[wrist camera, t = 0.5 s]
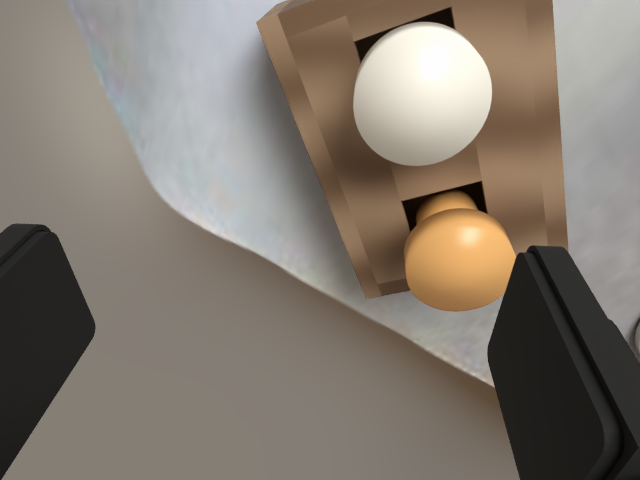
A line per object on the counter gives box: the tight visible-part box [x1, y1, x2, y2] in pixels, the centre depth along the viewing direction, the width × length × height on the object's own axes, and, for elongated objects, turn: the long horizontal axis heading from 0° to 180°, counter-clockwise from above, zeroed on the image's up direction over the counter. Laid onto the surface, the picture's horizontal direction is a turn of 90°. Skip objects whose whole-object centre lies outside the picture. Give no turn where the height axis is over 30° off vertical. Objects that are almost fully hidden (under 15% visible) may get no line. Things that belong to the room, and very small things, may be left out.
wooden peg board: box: [256, 0, 568, 299], centre depth 29 cm, size 20×14×6 cm
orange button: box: [404, 189, 516, 311], centre depth 27 cm, size 6×6×6 cm
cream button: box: [353, 22, 492, 166], centre depth 22 cm, size 6×6×6 cm
